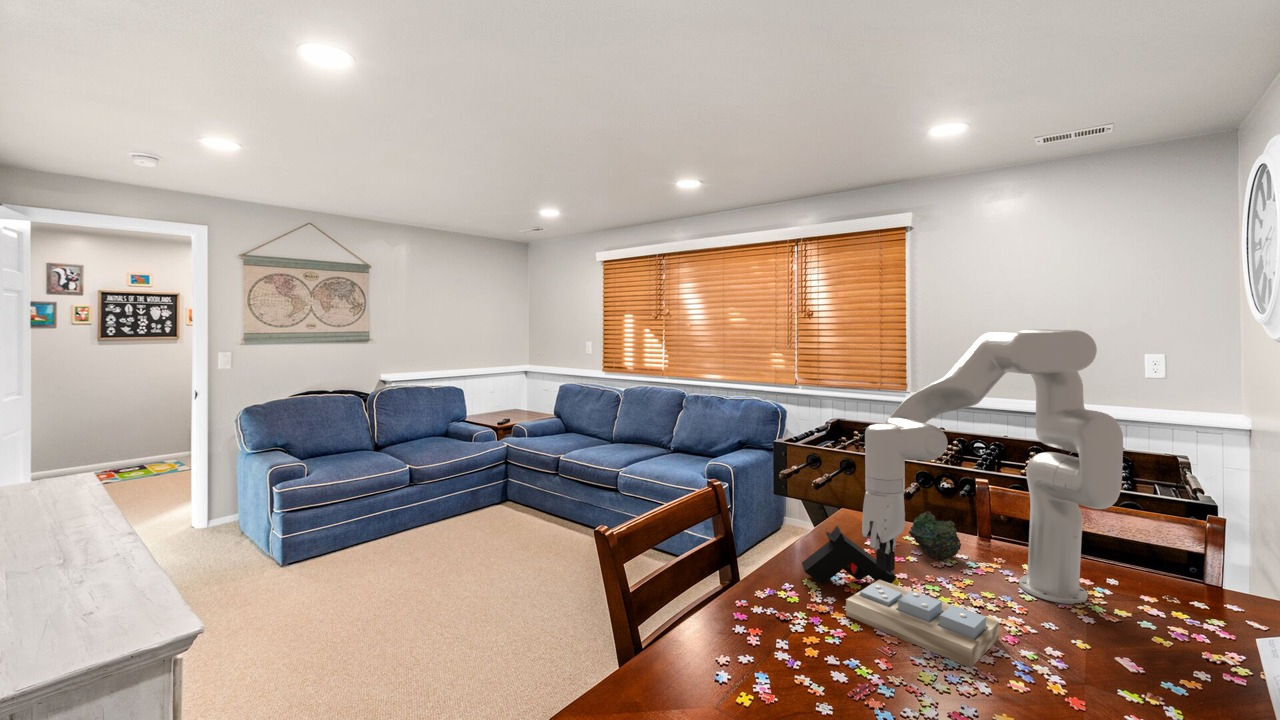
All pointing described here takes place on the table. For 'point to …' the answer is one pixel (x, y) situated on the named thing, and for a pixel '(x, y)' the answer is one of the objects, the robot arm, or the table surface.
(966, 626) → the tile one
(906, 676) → the table surface
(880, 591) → the tile three
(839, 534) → the toy gun
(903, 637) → the board
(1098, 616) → the table surface
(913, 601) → the tile two
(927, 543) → the rock
